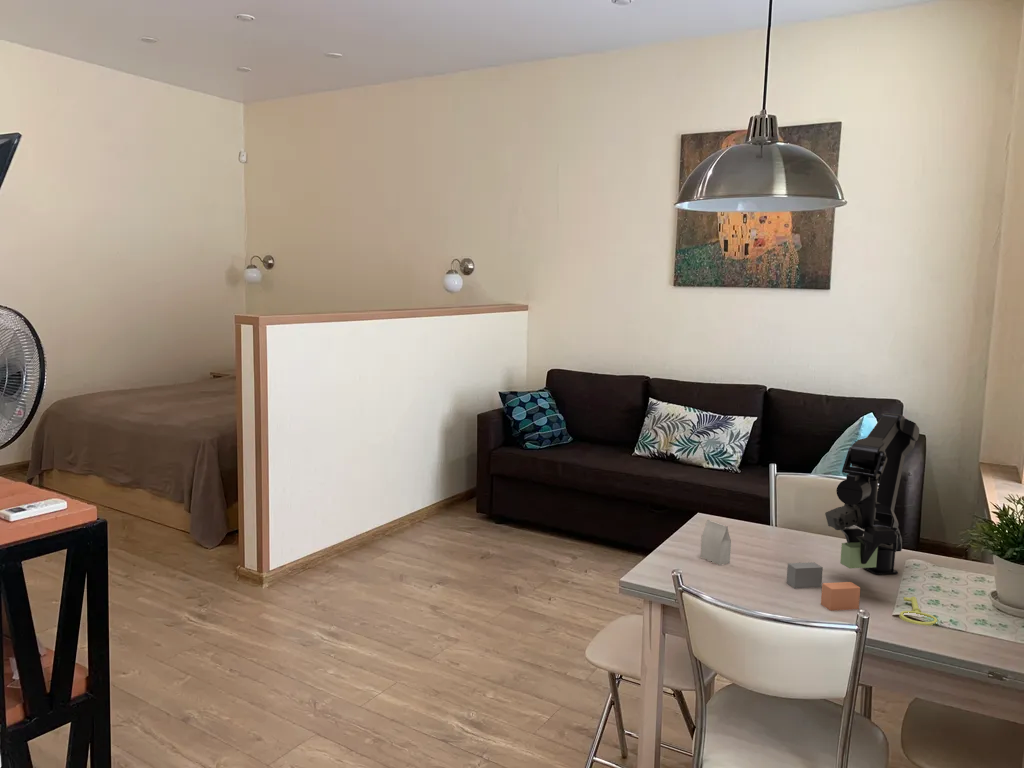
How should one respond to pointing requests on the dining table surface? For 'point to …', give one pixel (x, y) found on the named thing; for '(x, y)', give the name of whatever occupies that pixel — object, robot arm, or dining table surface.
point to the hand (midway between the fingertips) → (858, 560)
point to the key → (917, 611)
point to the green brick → (856, 556)
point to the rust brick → (840, 596)
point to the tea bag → (716, 543)
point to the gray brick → (804, 575)
